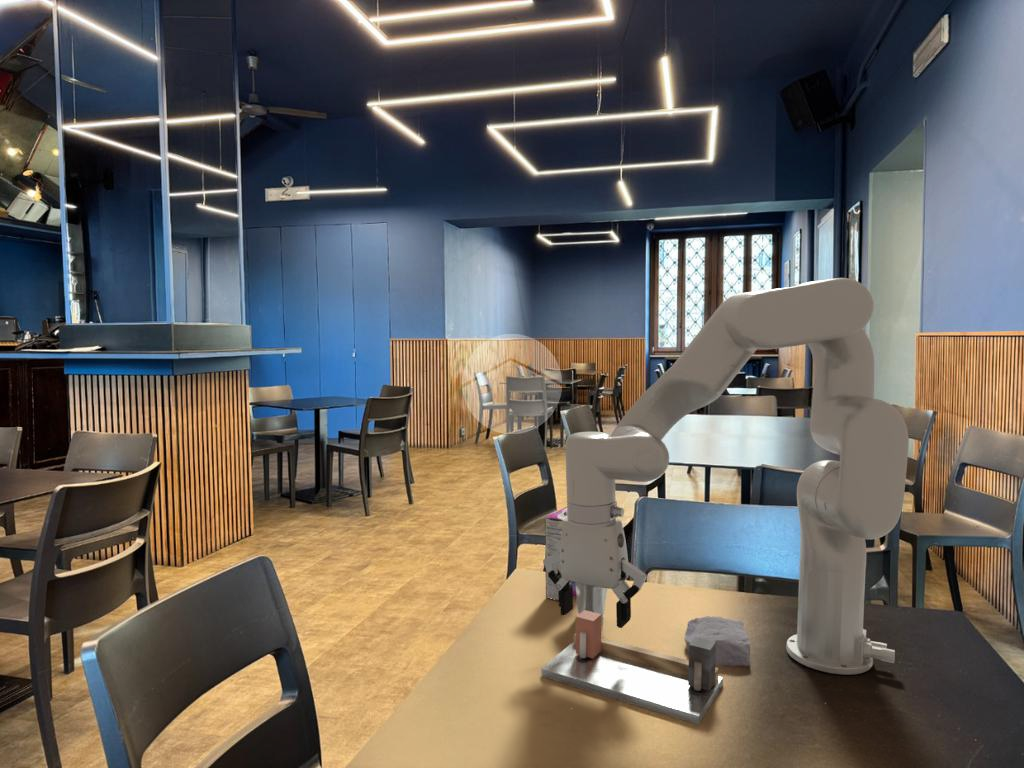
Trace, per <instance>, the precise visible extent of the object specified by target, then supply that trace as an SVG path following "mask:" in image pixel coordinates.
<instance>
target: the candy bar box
mask: <svg viewBox="0 0 1024 768" xmlns="http://www.w3.org/2000/svg"><path fill="white" fill-rule="evenodd" d="M564 512H567V506H566V507H564V508H561V509H559V510H557V511H556V512H554V513H551V514H549V515H548V516H545V517H544V542H545V543H544V546H545V547H544V549H545V553H544V554H545V559H546V558H547V557H549V556H552V555H554V554H557V553H559V552H560V546H561V535H562V529H563V524H564V519H565V518H567V516H564ZM555 565H556V568H557V569H558V570H559V571H560V561H559V562H557V563H555ZM560 573H561V571H560ZM569 584H570V585H572V587H573V597H574V596H575V597H576V591H575V582H570V583H569ZM546 597H549V598H552V599H555V600H558V601H557V602H559V593H558V590H556V588H555V584H554V583H553V581H552V580H551V579H550V578H549V576H548V571H547V570H546V569H545V598H546ZM575 597H574V598H575ZM555 600H554V601H555Z"/></svg>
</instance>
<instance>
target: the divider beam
mask: <svg viewBox="0 0 1024 768" xmlns="http://www.w3.org/2000/svg"><path fill="white" fill-rule="evenodd" d="M573 641H574V644H575V645H576V632H575V633H574V634H573ZM601 652H604V653H608V654H611V655H615V656H619V657H622V658H626V659H630V660H633V661H637V662H641V663H645V664H648V665H652V666H656V667H659V668H663V669H667V670H670V671H674V672H678V673H681V674H685V675H688V685H690V686H693V687H694V690H697V691H700V690H701V689H704V690H707V691H709V690H710V689H711V687H712V686H713V684H714V683H716V681H717V680H718V676H719V667H716V665H715V662H716V642H715V641H711V640H707V639H703V638H699V637H695V638H694V639H693V640H692V642H691V643H690V644H689V653H688V659H685V658H680V657H677V656H674V655H669V654H665V653H662V652H658V651H654V650H651V649H650V650H649V649H646V648H642V647H638V646H634V645H631V644H627V643H622V642H621V641H620V642H619V641H615V640H612V639H607V638H604V637H601Z"/></svg>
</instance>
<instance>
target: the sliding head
mask: <svg viewBox="0 0 1024 768" xmlns="http://www.w3.org/2000/svg"><path fill="white" fill-rule="evenodd" d="M602 621H603V620H602V614H599V613H595V612H590V611H586V610H584V611H583V612H581V613H580V614H578V615H576V617H575V633H576V654H579V655H580V658H586V657H589V658H594V657H595V656H596V655H597V654H598V653H599V652H601V638H602V626H603V625H602Z"/></svg>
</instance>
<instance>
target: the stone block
mask: <svg viewBox="0 0 1024 768" xmlns="http://www.w3.org/2000/svg"><path fill="white" fill-rule="evenodd" d="M695 637H699V638H703V639H707V640H711V641H715V642H716V662H715V666H724V665H725V666H733V667H737V665H742V666H741V667H749V666H748V665H750V664H751V663H750V662H751V661H750V660H751V659H750V657H751V643H750V640H749V636H748V634H747V633H746V631H745V628H744V622H743V620H742V619H741V620H740V619H738V620H735V619H730V618H727V617H726V618H725V617H723V616H722V617H721V616H709V615H707V616H703V617H695V618H694V619H693V618H692V619H690V620H689V621H688V622H687V627H686V630H685V636H684V642H685V646H686V651H687V653H688V654H689V644H690V643H691V642H692V640H693V639H694V638H695Z"/></svg>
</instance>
